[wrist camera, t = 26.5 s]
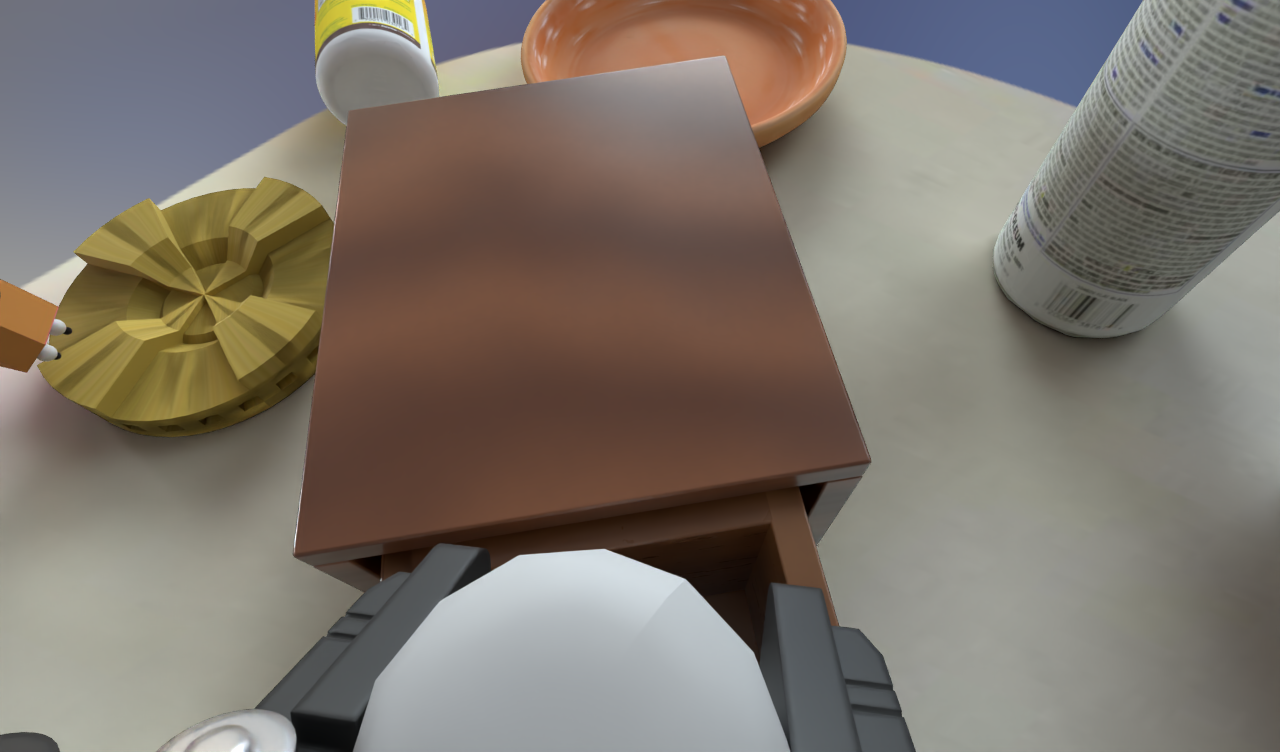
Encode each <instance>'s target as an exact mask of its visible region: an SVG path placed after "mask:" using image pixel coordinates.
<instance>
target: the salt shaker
mask: <svg viewBox="0 0 1280 752" xmlns="http://www.w3.org/2000/svg"><path fill="white" fill-rule="evenodd" d="M353 752H791V751H790V748H789V745H788V741H787V739H786V736H785V734H784V731H783V728H782V726H781V723H780V720H779V718H778V715H777V712H776V710H775V707H774V705H773V702H772V699H771V697H770V694H769V691H768V689H767V686H766V683H765V681H764V678H763V676H762V673H761V670H760V668H759V665H758V662H757V660H756V657H755V654H754V652H753V651H752V650H751V649H750V648H749V647H748V646H747V645H746V643H745V642H744V641H743V640H742V639H741V638H740V637H739V636H738V635H737V634H736V633H735V632H734V631H733V629H732V628H731V627H730V626H729V625H728V624H727V623H726V622H725V621H724V620H723V619H722V618H721V616H720V615H719V614H718V613H717V612H716V611H715V610H714V609H713V608H712V607H711V606H710V605H709V604H708V602H707V601H706V600H705V599H704V598H703V597H702V596H701V595H700V594H699V593H698V592H697V591H696V589H695V588H694V587H693V586H692V585H691V584H690V583H689V582H688V581H687V580H686V579H684V578H681V577H678V576H676V575H673V574H670V573H668V572H665V571H662V570H660V569H657V568H654V567H652V566H649V565H646V564H644V563H641V562H638V561H636V560H633V559H630V558H628V557H625V556H622V555H619V554H617V553H614V552H611V551H609V550H606V549H595V550H582V551H568V552H555V553H541V554H528V555H519V556H517V557H515V558H513V559H512V560H510V561H508V562H506V563H505V564H503V565H501V566H500V567H498V568H496V569H494V570H493V571H491V572H489V573H487V574H486V575H484V576H482V577H481V578H479V579H477V580H475V581H474V582H472V583H470V584H468V585H467V586H465V587H463V588H461V589H460V590H458V591H456V592H455V593H453V594H451V595H449V596H448V597H446V598H444V599H442V600H441V601H440V602H439V603H438V604H437V605H436V606H435V608H434V609H433V610H432V611H431V613H430V614H429V615H428V616H427V618H426V619H425V620H424V621H423V622H422V624H421V625H420V626H419V627H418V629H417V630H416V631H415V632H414V634H413V635H412V636H411V637H410V638H409V640H408V641H407V642H406V643H405V645H404V646H403V647H402V648H401V649H400V651H399V652H398V653H397V654H396V656H395V657H394V658H393V659H392V661H391V662H390V663H389V664H388V665H387V667H386V668H385V669H384V670H383V672H382V673H381V674H380V675H379V677H378V678H377V679H376V680H375V683H374V686H373V690H372V693H371V696H370V699H369V702H368V705H367V708H366V712H365V715H364V718H363V721H362V724H361V727H360V731H359V734H358V737H357V740H356V743H355V746H354V749H353Z"/></svg>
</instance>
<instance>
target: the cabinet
mask: <svg viewBox="0 0 1280 752" xmlns="http://www.w3.org/2000/svg"><path fill="white" fill-rule="evenodd" d="M870 463H871V458H870V455H869V452H868V449H867V447H866V444H865V441H864V438H863V435H862V433H861V430H860V427H859V424H858V422H857V419H856V416H855V413H854V411H853V408H852V405H851V402H850V399H849V397H848V394H847V391H846V388H845V386H844V383H843V380H842V377H841V374H840V372H839V369H838V366H837V363H836V361H835V358H834V355H833V352H832V349H831V347H830V344H829V341H828V338H827V336H826V333H825V330H824V327H823V325H822V322H821V319H820V316H819V313H818V311H817V308H816V305H815V302H814V300H813V297H812V294H811V291H810V288H809V286H808V283H807V280H806V277H805V275H804V272H803V269H802V266H801V263H800V261H799V258H798V255H797V252H796V250H795V247H794V244H793V241H792V239H791V236H790V233H789V230H788V227H787V225H786V222H785V219H784V216H783V214H782V211H781V208H780V205H779V202H778V200H777V197H776V194H775V191H774V189H773V186H772V183H771V180H770V177H769V175H768V172H767V169H766V166H765V164H764V161H763V158H762V155H761V153H760V150H759V147H758V144H757V141H756V139H755V136H754V133H753V130H752V128H751V125H750V122H749V119H748V116H747V114H746V111H745V108H744V105H743V103H742V100H741V97H740V94H739V91H738V89H737V86H736V83H735V80H734V78H733V75H732V72H731V69H730V67H729V64H728V61H727V58H726V56H717V57H710V58H703V59H697V60H690V61H683V62H676V63H669V64H662V65H656V66H649V67H642V68H635V69H628V70H621V71H614V72H608V73H601V74H594V75H587V76H580V77H573V78H567V79H560V80H553V81H546V82H539V83H532V84H525V85H519V86H512V87H505V88H498V89H491V90H484V91H477V92H471V93H464V94H457V95H450V96H443V97H436V98H430V99H423V100H416V101H409V102H402V103H395V104H388V105H382V106H375V107H368V108H361V109H354V110H350V111H348V118H347V126H346V134H345V142H344V149H343V157H342V165H341V173H340V181H339V189H338V197H337V205H336V213H335V221H334V229H333V237H332V245H331V253H330V261H329V269H328V277H327V285H326V293H325V301H324V309H323V317H322V325H321V333H320V341H319V349H318V357H317V365H316V373H315V381H314V389H313V397H312V405H311V413H310V421H309V429H308V437H307V445H306V453H305V461H304V468H303V476H302V484H301V492H300V500H299V508H298V516H297V524H296V532H295V540H294V548H293V556H294V558H296V559H298V560H300V561H302V562H305V563H307V564H309V565H311V566H313V567H314V568H316V569H318V570H320V571H322V572H324V573H326V574H328V575H330V576H332V577H334V578H336V579H338V580H340V581H343V582H345V583H347V584H349V585H351V586H353V587H355V588H357V589H359V590H361V591H363V592H366V591H367V590H368V589H369V588H371V587H373V586H374V585H376V584H378V583H380V580H381V562H382V555H383V554H389V553H395V552H401V551H407V550H414V549H420V548H426V547H432V546H436V545H437V544H439V543H444V544H450V543H456V542H462V541H468V540H474V539H480V538H486V537H493V536H499V535H505V534H511V533H517V532H523V531H529V530H535V529H541V528H547V527H553V526H559V525H565V524H572V523H578V522H584V521H590V520H596V519H602V518H608V517H614V516H620V515H626V514H632V513H638V512H644V511H651V510H657V509H663V508H669V507H675V506H681V505H687V504H693V503H699V502H705V501H711V500H717V499H723V498H730V497H736V496H742V495H748V494H754V493H760V492H766V491H772V490H778V489H784V488H790V487H796V486H799V489H800V493H801V496H802V500H803V503H804V507H805V510H806V513H807V517H808V520H809V524H810V527H811V531H812V534H813V537H814V541H815V544H816V546H817V544H818V543H819V541H820V540H821V538H822V537H823V535H824V534H825V532H826V531H827V529H828V528H829V526H830V525H831V523H832V522H833V520H834V519H835V517H836V516H837V514H838V513H839V511H840V510H841V508H842V507H843V505H844V504H845V502H846V501H847V499H848V498H849V496H850V495H851V493H852V492H853V490H854V489H855V487H856V486H857V484H858V483H859V481H860V479H861V478H862V475H863V474H864V473H865V471H866V470H867V468H868V467H869V465H870Z"/></svg>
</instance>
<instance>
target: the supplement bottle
mask: <svg viewBox="0 0 1280 752" xmlns="http://www.w3.org/2000/svg"><path fill="white" fill-rule="evenodd" d="M315 74H316V82H317V86H318V90H319V93H320V95H321V97H322V100H323V101H324V103H325V105H326V106H327V108H328V109H329V110H330V112H331V113H332V114H333V115H334V116H335V117H336V118H337V119H338V120H339V121H341V122H342V123H343V124H345V125H346V126H347V118H348V111H350V110H354V109H361V108H368V107H375V106H382V105H388V104H395V103H402V102H409V101H416V100H423V99H430V98H436V97H439V84H438V77H437V71H436V65H435V59H434V53H433V47H432V40H431V34H430V28H429V22H428V16H427V10H426V4H425V1H424V0H315Z"/></svg>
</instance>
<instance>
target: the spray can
mask: <svg viewBox="0 0 1280 752" xmlns="http://www.w3.org/2000/svg"><path fill="white" fill-rule="evenodd" d="M1279 211H1280V0H1143V2H1142V4H1141V5H1140V7H1139V9H1138V10H1137V12H1136V13H1135V15H1134V16H1133V18H1132V20H1131V21H1130V23H1129V25H1128V26H1127V28H1126V29H1125V31H1124V33H1123V35H1122V36H1121V38H1120V39H1119V41H1118V42H1117V44H1116V46H1115V47H1114V49H1113V51H1112V52H1111V54H1110V56H1109V57H1108V59H1107V60H1106V62H1105V64H1104V65H1103V67H1102V68H1101V70H1100V71H1099V73H1098V75H1097V76H1096V78H1095V79H1094V81H1093V83H1092V84H1091V86H1090V88H1089V89H1088V91H1087V92H1086V94H1085V96H1084V97H1083V99H1082V101H1081V102H1080V104H1079V105H1078V107H1077V109H1076V110H1075V112H1074V113H1073V115H1072V117H1071V118H1070V120H1069V121H1068V123H1067V124H1066V126H1065V128H1064V129H1063V131H1062V133H1061V134H1060V136H1059V138H1058V139H1057V141H1056V143H1055V144H1054V146H1053V147H1052V149H1051V150H1050V152H1049V154H1048V155H1047V157H1046V159H1045V160H1044V162H1043V164H1042V165H1041V167H1040V168H1039V170H1038V172H1037V173H1036V175H1035V176H1034V178H1033V180H1032V181H1031V183H1030V185H1029V186H1028V188H1027V189H1026V191H1025V193H1024V194H1023V196H1022V198H1021V199H1020V201H1019V202H1018V204H1017V206H1016V207H1015V209H1014V210H1013V212H1012V213H1011V215H1010V216H1009V218H1008V220H1007V222H1006V223H1005V225H1004V227H1003V229H1002V230H1001V232H1000V234H999V236H998V239H997V242H996V245H995V247H994V248H993V271H994V275H995V278H996V280H997V282H998V285H999V286H1000V288H1001V289H1002V290H1003V292H1004V293H1005V295H1006V296H1007V298H1008V299H1009V300H1011V301H1012V302H1013V303H1014V304H1015V305H1016V306H1018V307H1019V308H1021V309H1022V310H1024V311H1025V312H1026V313H1027V314H1028V315H1029V316H1031V317H1032V318H1033V319H1034V320H1035V321H1037V322H1039V323H1041V324H1043V325H1045V326H1047V327H1050V328H1052V329H1055V330H1057V331H1060V332H1062V333H1064V334H1066V335H1069V336H1072V337H1095V338H1109V337H1116V336H1121V335H1124V334H1128V333H1132V332H1136V331H1139V330H1141V329H1143V328H1145V327H1147V326H1148V325H1150V324H1151V323H1153V322H1154V321H1155V320H1157V319H1158V318H1160V317H1161V316H1162V315H1163V314H1165V313H1166V312H1167V311H1168V310H1169V309H1170V308H1171V307H1173V306H1174V305H1175V304H1176V303H1177V302H1178V301H1180V300H1181V299H1182V298H1183V297H1184V296H1185V295H1186V294H1187V293H1188V292H1189V291H1191V290H1192V289H1193V288H1194V287H1195V286H1196V285H1197V284H1198V283H1199V282H1200V281H1202V280H1203V279H1204V278H1205V277H1206V276H1207V275H1209V274H1210V273H1211V272H1212V271H1213V270H1214V269H1215V268H1216V267H1217V266H1219V265H1220V264H1221V263H1222V262H1223V261H1224V260H1225V259H1226V258H1227V257H1228V256H1230V255H1231V254H1232V253H1233V252H1234V251H1235V250H1236V249H1237V248H1238V247H1239V246H1241V245H1242V244H1243V243H1244V242H1245V241H1246V240H1247V239H1248V238H1250V237H1251V236H1252V235H1253V234H1254V233H1255V232H1256V231H1257V230H1259V229H1260V228H1261V227H1262V226H1263V225H1264V224H1265V223H1266V222H1268V221H1269V220H1270V219H1271V218H1272V217H1273V216H1274V215H1276V214H1277V213H1278V212H1279Z"/></svg>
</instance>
